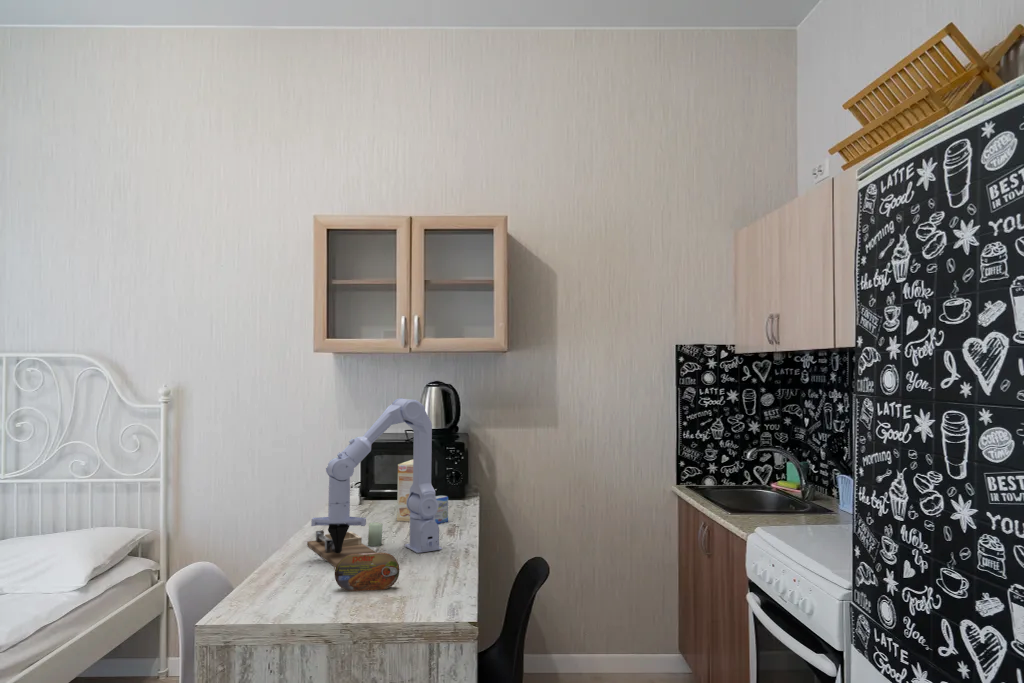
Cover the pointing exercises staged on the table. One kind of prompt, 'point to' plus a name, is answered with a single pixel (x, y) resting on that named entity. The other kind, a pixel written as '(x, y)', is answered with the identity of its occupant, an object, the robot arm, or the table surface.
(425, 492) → the robot arm
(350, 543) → the walnut base with seat
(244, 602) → the table surface
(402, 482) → the coffeecake box
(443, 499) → the medicine box
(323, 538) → the steel shaft
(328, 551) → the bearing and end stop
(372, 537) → the cylinder
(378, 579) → the tin
